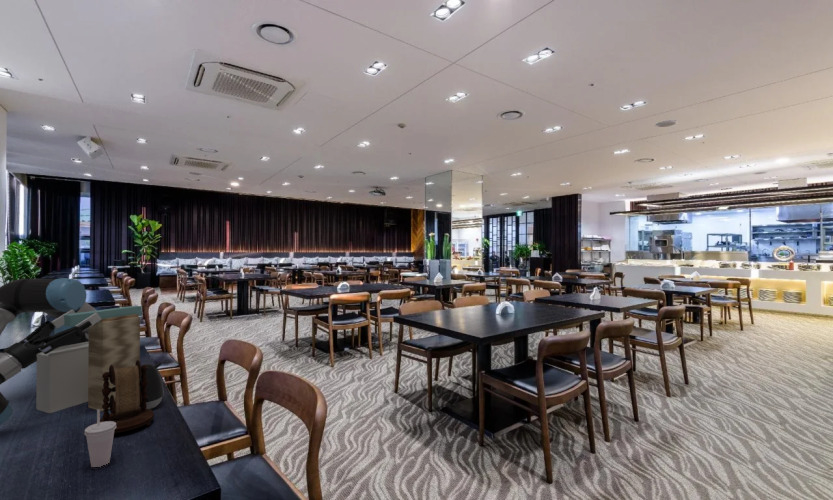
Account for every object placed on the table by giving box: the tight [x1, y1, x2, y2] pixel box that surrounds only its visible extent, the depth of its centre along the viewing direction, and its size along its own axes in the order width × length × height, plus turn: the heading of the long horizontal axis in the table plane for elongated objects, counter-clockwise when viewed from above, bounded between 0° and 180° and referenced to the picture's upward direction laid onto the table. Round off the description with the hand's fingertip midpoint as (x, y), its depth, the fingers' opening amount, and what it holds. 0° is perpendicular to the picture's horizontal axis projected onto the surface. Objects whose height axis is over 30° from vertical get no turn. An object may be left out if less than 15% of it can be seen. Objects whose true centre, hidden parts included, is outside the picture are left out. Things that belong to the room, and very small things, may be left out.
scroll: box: [94, 360, 155, 434], centre depth 120 cm, size 15×15×20 cm
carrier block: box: [35, 342, 89, 414], centre depth 137 cm, size 16×8×20 cm, turn 157°
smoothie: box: [84, 409, 116, 468], centre depth 99 cm, size 6×6×14 cm
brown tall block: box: [87, 314, 141, 412], centre depth 138 cm, size 12×8×31 cm, turn 157°
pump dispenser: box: [139, 361, 165, 410], centre depth 134 cm, size 10×10×15 cm
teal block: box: [64, 305, 143, 326], centre depth 135 cm, size 22×4×4 cm, turn 157°
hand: (86, 314), depth 130 cm, fingers open, 13 cm apart
